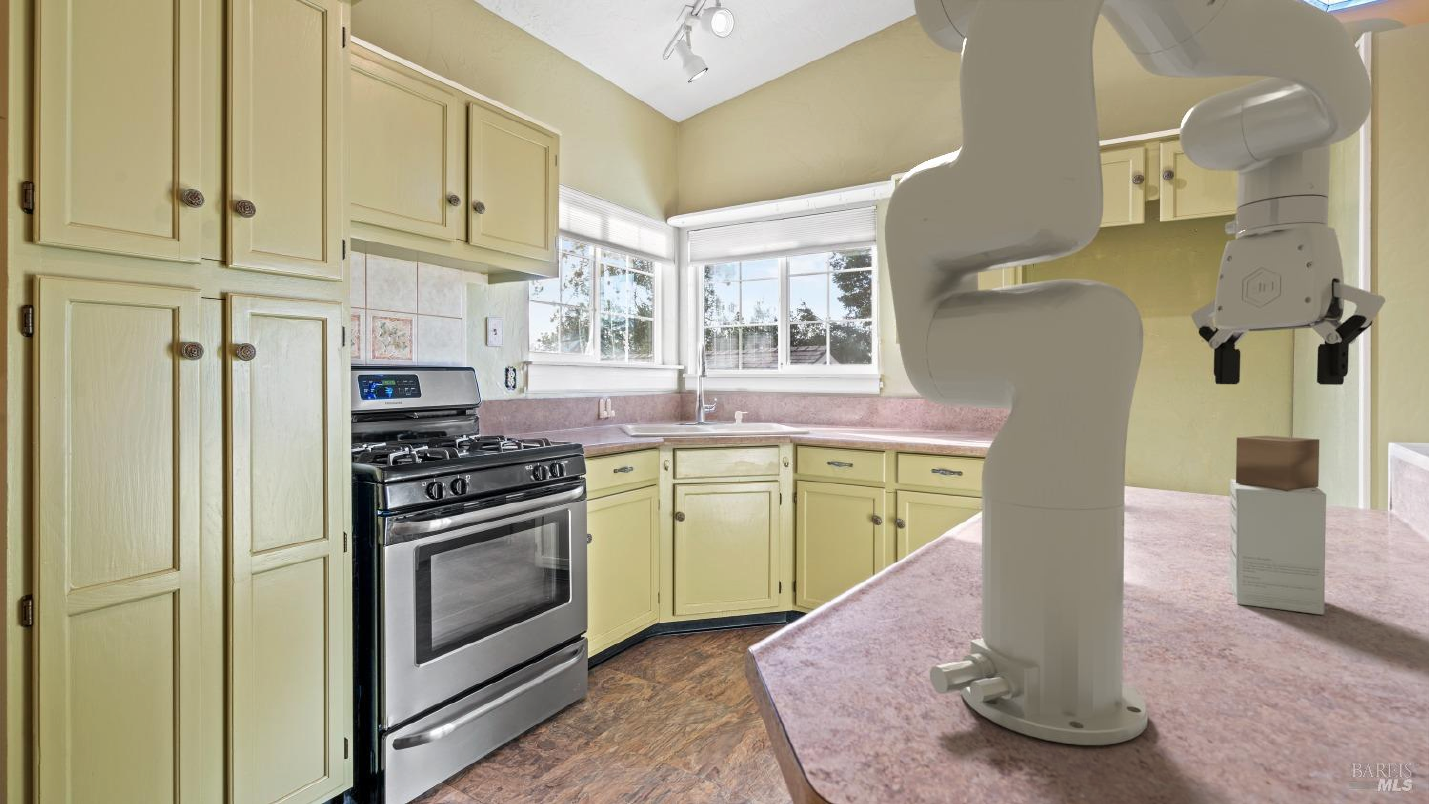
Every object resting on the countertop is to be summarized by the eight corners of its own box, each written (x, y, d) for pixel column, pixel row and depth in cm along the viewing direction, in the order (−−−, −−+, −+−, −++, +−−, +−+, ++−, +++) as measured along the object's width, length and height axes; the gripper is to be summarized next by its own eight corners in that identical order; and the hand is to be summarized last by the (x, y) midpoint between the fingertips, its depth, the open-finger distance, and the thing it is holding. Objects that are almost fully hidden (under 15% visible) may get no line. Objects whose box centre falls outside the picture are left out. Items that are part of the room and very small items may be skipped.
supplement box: (1311, 596, 75) (1313, 482, 74) (1325, 617, 69) (1328, 492, 68) (1227, 586, 79) (1229, 477, 78) (1233, 604, 73) (1235, 486, 72)
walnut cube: (1287, 490, 70) (1288, 441, 70) (1235, 483, 75) (1236, 437, 75) (1318, 486, 72) (1319, 439, 72) (1265, 480, 76) (1266, 435, 76)
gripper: (1175, 235, 79) (1171, 383, 79) (1361, 198, 63) (1355, 384, 63) (1218, 241, 82) (1214, 384, 82) (1407, 206, 66) (1401, 385, 66)
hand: (1275, 384), depth 73 cm, fingers open, 9 cm apart
